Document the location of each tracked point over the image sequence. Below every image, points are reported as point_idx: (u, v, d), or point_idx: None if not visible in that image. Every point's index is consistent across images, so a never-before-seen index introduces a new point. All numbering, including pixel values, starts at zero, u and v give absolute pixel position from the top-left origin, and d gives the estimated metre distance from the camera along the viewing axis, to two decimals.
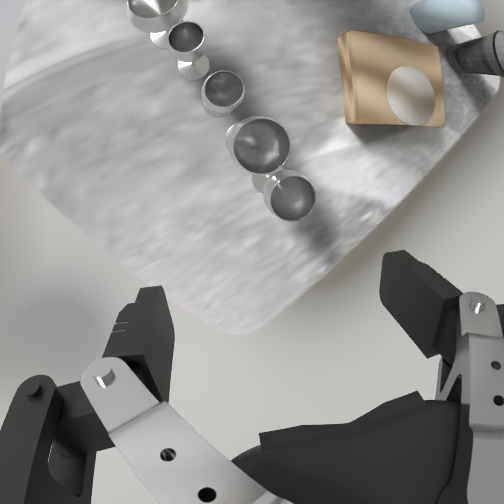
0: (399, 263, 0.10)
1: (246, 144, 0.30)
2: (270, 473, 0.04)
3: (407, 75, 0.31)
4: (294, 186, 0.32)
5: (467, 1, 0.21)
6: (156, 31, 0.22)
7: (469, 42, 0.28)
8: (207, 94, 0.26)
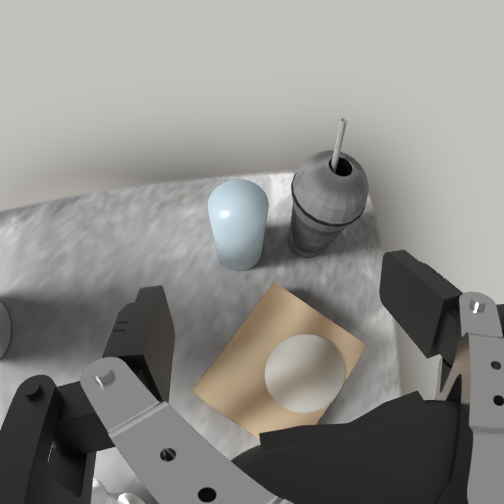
0: (399, 263, 0.10)
1: None
2: (270, 473, 0.04)
3: (280, 363, 0.29)
4: None
5: (231, 210, 0.27)
6: None
7: (292, 224, 0.33)
8: None
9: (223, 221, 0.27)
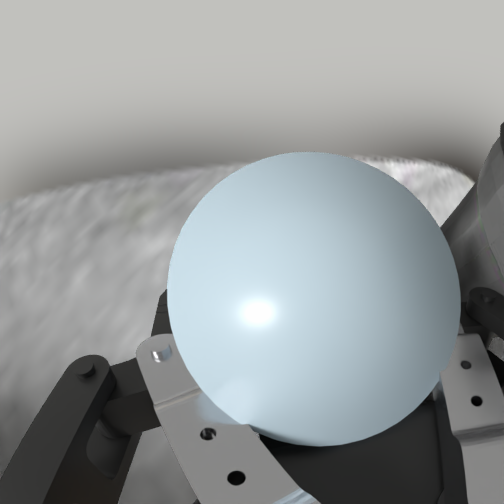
0: None
1: None
2: None
3: None
4: None
5: (301, 322, 0.05)
6: None
7: None
8: None
9: (257, 391, 0.04)
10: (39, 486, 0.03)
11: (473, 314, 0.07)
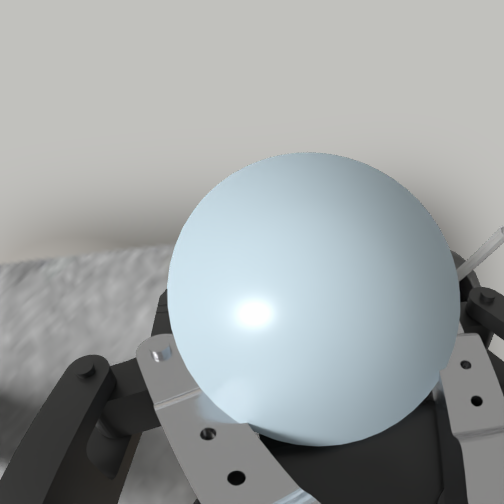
0: None
1: None
2: None
3: None
4: None
5: (301, 322, 0.05)
6: None
7: None
8: None
9: (257, 391, 0.04)
10: (39, 486, 0.03)
11: (473, 314, 0.07)
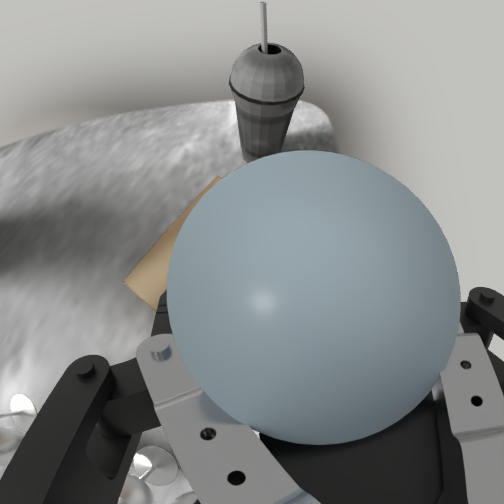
0: None
1: None
2: None
3: None
4: None
5: (300, 320, 0.05)
6: None
7: (238, 125, 0.32)
8: None
9: (256, 389, 0.04)
10: (39, 486, 0.03)
11: (473, 314, 0.07)
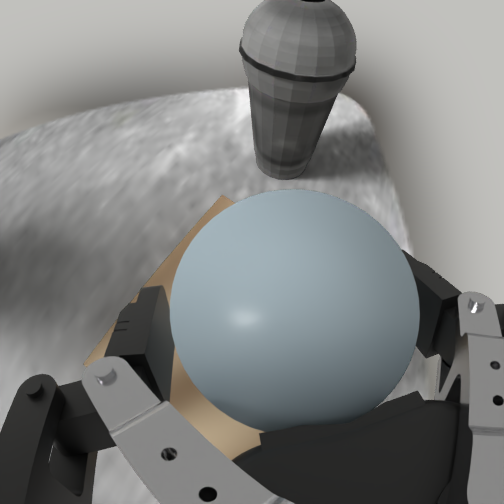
0: None
1: None
2: (270, 473, 0.04)
3: None
4: None
5: (275, 334, 0.06)
6: None
7: (252, 117, 0.21)
8: None
9: (237, 387, 0.06)
10: None
11: None
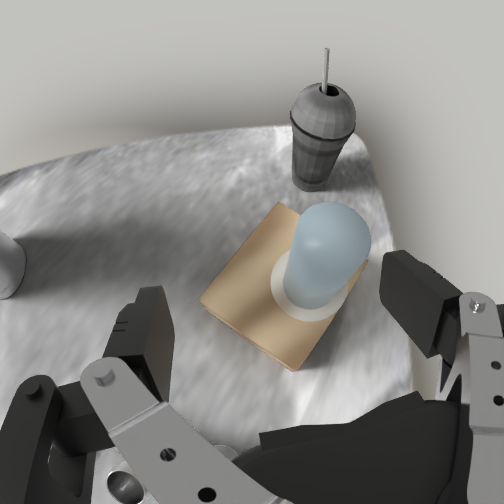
0: (399, 263, 0.10)
1: None
2: (270, 473, 0.04)
3: None
4: None
5: (326, 243, 0.21)
6: None
7: (293, 154, 0.36)
8: (135, 480, 0.20)
9: (317, 258, 0.20)
10: None
11: None
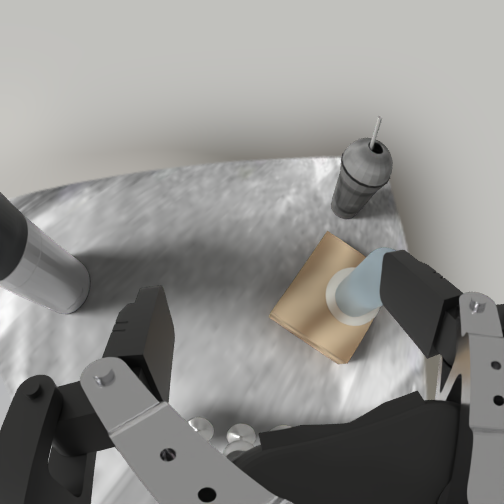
0: (399, 263, 0.10)
1: None
2: (270, 473, 0.04)
3: (336, 288, 0.40)
4: None
5: None
6: None
7: (337, 190, 0.44)
8: None
9: (378, 288, 0.29)
10: None
11: None
